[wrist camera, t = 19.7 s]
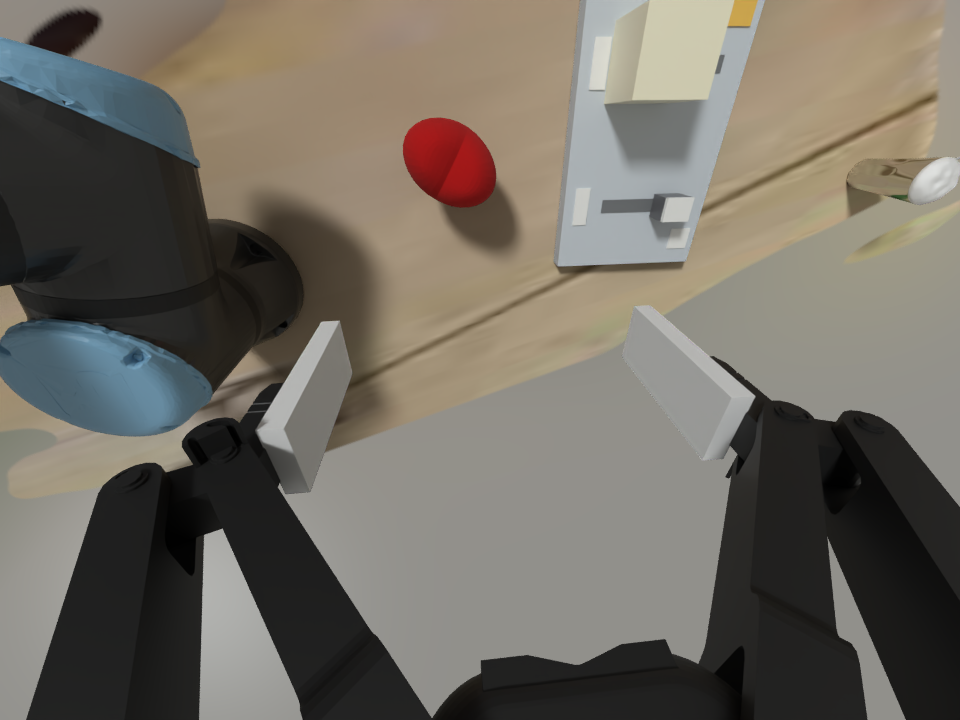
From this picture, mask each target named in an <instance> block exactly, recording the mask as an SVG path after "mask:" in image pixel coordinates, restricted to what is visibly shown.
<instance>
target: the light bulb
mask: <svg viewBox="0 0 960 720" xmlns="http://www.w3.org/2000/svg"><path fill="white" fill-rule="evenodd" d="M403 156H404V161H405V164H406V167H407V169H408V172H409V173H410V175H411V177H412V178H413V180H414V181H415V182H416V184H417V185H418V186H419V187H420V188H421V189H422V190H423V191H424V192H425V193H427V194H428V195H430V196H431V197H433V198H434V199H436V200H438V201H440V202H442V203H444V204H447V205H450V206H454V207H460V208H461V207H472V206H476V205H478V204H480V203H483V202H484V201H485V200H486V199H488V198H489V196H490V195H491V194H492V192H493V190H494V187H495V183H496V168H495V165H494V161H493V158H492V156H491V154H490V152H489V150H488V148H487V147H486V145H485V144H484V142H483V141H482V140H481V139H480V138H479V137H478V135H477V134H476V133H474V132H473V131H472V130H471V129H469V128H468V127H466V126H465V125H463V124H461V123H459V122H457V121H454V120H451V119H446V118H429V119H425V120H422V121H420V122H418V123H416V124H415V125H414V126H413V127H412V128H411V129H409V131H408V133H407V134H406V136H405V139H404V143H403Z"/></svg>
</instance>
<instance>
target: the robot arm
mask: <svg viewBox="0 0 960 720" xmlns="http://www.w3.org/2000/svg"><path fill="white" fill-rule="evenodd" d="M198 168H200V163H199V160H198V159H196V158H195V155H194V151H193V147H192V143H191V139H190V135H189V131H188V127H187V123H186V119H185V116H184V114H183V112H182V110H181V108H180V107H179V105H178V104H177V103H176V101H175V100H174V99H173V98H172V97H171V96H170V95H168V94H167V93H166V92H165V91H163V90H162V89H160V88H159V87H157V86H155V85H153V84H150V83H148V82H145V81H142V80H140V79H137V78H134V77H131V76H128V75H124V74H122V73H118V72H115V71H112V70H109V69H106V68H103V67H99V66H96V65H93V64H90V63H87V62H84V61H80V60H77V59H74V58H71V57H67V56H64V55H61V54H57V53H54V52H51V51H47V50H44V49H41V48H37V47H34V46H31V45H27V44H24V43H20V42H17V41H13V40H10V39H6V38H2V37H0V286H5V285H11V286H12V288H13V290H14V292H15V294H16V296H17V298H18V300H19V302H20V304H21V306H22V308H23V310H24V312H25V314H26V316H27V321H26V322H20V323H18V324H16V325H14V326H12V327H10V328H8V330H7V331H6V332H5V335H4V336H3V337H2V338H1V340H0V376H1V377H2V379H3V380H4V382H5V383H6V384H7V385H8V386H9V387H10V388H11V389H12V390H13V391H14V392H15V393H16V394H18V395H19V396H20V397H21V398H23V399H24V400H25V401H27V402H28V403H30V404H31V405H33V406H34V407H36V408H38V409H39V410H41V411H43V412H45V413H47V414H49V415H51V416H53V417H55V418H57V419H60V420H63V421H66V422H68V423H70V424H72V425H75V426H78V427H81V428H84V429H87V430H91V431H95V432H100V433H105V434H111V435H119V436H150V435H157V434H161V433H165V432H168V431H171V430H173V429H175V428H177V427H179V426H181V425H182V424H184V423H185V422H186V421H188V420H189V419H190V418H191V417H192V416H193V415H194V414H195V413H196V412H197V411H198V410H199V409H200V408H201V407H203V406H205V405H206V404H207V403H208V402H209V401H210V400H211V397H212V395H213V394H214V392H215V391H216V390H217V389H218V387H219V386H220V385H221V384H222V383H223V381H224V380H225V379H226V378H227V377H228V375H229V374H230V373H231V372H232V370H233V369H234V368H235V367H236V366H237V364H238V363H239V362H240V361H241V360H242V359H243V357H244V356H245V355H246V354H247V353H248V351H249V350H250V349H251V348H252V347H253V346H255V345H258V344H260V343H263V342H265V341H268V340H270V339H273V338H275V337H277V336H278V335H280V334H281V333H283V332H284V331H285V330H286V329H288V327H289V326H290V325H291V324H292V323H293V321H294V320H295V319H296V317H297V316H298V314H299V312H300V310H301V307H302V303H303V285H302V281H301V278H300V275H299V272H298V270H297V268H296V266H295V265H294V263H293V261H292V260H291V258H290V257H289V256H288V255H287V253H286V252H285V251H284V250H283V249H282V248H281V247H280V246H279V245H278V244H277V243H276V242H275V241H273V240H272V239H271V238H269V237H268V236H267V235H265V234H264V233H262V232H260V231H258V230H257V229H255V228H252V227H250V226H248V225H245V224H242V223H239V222H236V221H231V220H225V219H208V218H207V213H206V208H205V203H204V198H203V193H202V188H201V183H200V178H199V173H198ZM622 358H623V359H624V360H625V362H626V363H627V364H628V366H629V367H630V368H631V369H632V371H633V372H634V373H635V375H636V376H637V377H638V379H639V380H640V381H641V382H642V384H643V385H644V386H645V388H646V389H647V390H648V391H649V393H650V394H651V395H652V397H653V398H654V399H655V400H656V402H657V403H658V404H659V406H660V407H661V408H662V409H663V411H664V412H665V413H666V415H667V416H668V417H669V418H670V420H671V421H672V422H673V423H674V425H675V426H676V427H677V429H678V430H679V431H680V433H681V434H682V435H683V436H684V438H685V439H686V440H687V442H688V443H689V444H690V445H691V447H692V448H693V449H694V451H695V452H696V453H697V454H698V456H699V457H700V458H701V459H702V460H714V459H723V458H724V456H725V454H726V453H727V451H728V449H729V447H730V446H731V447H732V448H733V449H734V450H735V452H736V453H737V454H738V455H737V456H736V458H735V460H734V462H733V464H732V466H731V468H730V469H729V471H728V473H727V475H726V478H730V476H731V482H730V488H729V495H728V502H727V508H726V514H725V521H724V528H723V534H722V541H721V548H720V554H719V560H718V567H717V574H716V580H715V587H714V593H713V600H712V607H711V613H710V619H709V626H708V633H707V639H706V644H705V648H704V651H703V654H702V656H701V659H700V661H699V664H697V663H695V662H693V661H691V660H689V659H686V658H683V657H680V656H677V655H674V654H672V653H671V651H670V649H669V646H668V644H667V642H666V640H665V639H663V640H654V641H645V642H637V643H628V644H621V645H619V646H617V647H615V648H613V649H611V650H609V651H607V652H605V653H603V654H601V655H599V656H597V657H595V658H593V659H591V660H589V661H587V662H585V663H583V664H580V665H573V664H568V663H563V662H558V661H553V660H548V659H544V658H539V657H534V656H529V655H524V656H516V657H507V658H498V659H490V660H481V674H479V675H477V676H475V677H473V678H471V679H469V680H468V681H466V682H465V683H464V684H462V685H460V687H458V688H457V689H456V690H455V691H454V692H453V693H452V694H450V695H449V697H448V698H447V699H446V700H445V701H444V702H443V704H442V705H441V706H440V707H439V709H438V711H437V712H436V714H435V715H434V716H433V718H431V716H430V715H429V714H428V712H427V710H426V709H425V707H424V706H423V704H422V703H421V701H420V700H419V698H418V697H417V695H416V694H415V692H414V691H413V689H412V688H411V686H410V685H409V683H408V681H407V680H406V679H405V677H404V675H403V674H402V672H401V671H400V669H399V668H398V666H397V665H396V663H395V662H394V660H393V659H392V657H391V656H390V654H389V653H388V651H387V650H386V648H385V647H384V645H383V644H382V642H381V641H380V640H379V638H378V637H377V636H376V635H375V634H373V633H372V631H371V630H370V629H369V627H368V626H367V624H366V623H365V621H364V620H363V618H362V616H361V615H360V613H359V612H358V610H357V609H356V607H355V606H354V604H353V603H352V601H351V600H350V598H349V596H348V595H347V593H346V592H345V590H344V589H343V587H342V586H341V584H340V583H339V581H338V580H337V578H336V576H335V575H334V573H333V572H332V570H331V569H330V567H329V566H328V564H327V563H326V561H325V560H324V558H323V556H322V555H321V553H320V552H319V550H318V549H317V547H316V546H315V545H314V543H313V541H312V540H311V538H310V536H309V535H308V533H307V532H306V530H305V529H304V527H303V526H302V524H301V523H300V521H299V520H298V518H297V517H296V515H295V513H294V512H293V510H292V509H291V507H290V506H289V504H288V503H287V501H286V500H285V498H284V496H283V495H282V493H281V492H280V490H279V489H278V485H279V483H280V484H281V486H282V488H283V490H284V492H285V494H294V493H305V492H310V491H311V489H312V486H313V483H314V480H315V477H316V475H317V472H318V469H319V466H320V463H321V461H322V458H323V455H324V452H325V449H326V447H327V444H328V441H329V438H330V435H331V433H332V430H333V427H334V424H335V421H336V418H337V416H338V413H339V410H340V407H341V404H342V402H343V399H344V396H345V393H346V390H347V388H348V385H349V382H350V379H351V376H352V374H353V372H352V368H351V364H350V360H349V356H348V352H347V348H346V344H345V340H344V336H343V332H342V328H341V324H340V321H324V322H321V323H320V325H319V327H318V328H317V330H316V331H315V333H314V335H313V336H312V338H311V340H310V341H309V343H308V345H307V346H306V348H305V350H304V351H303V353H302V354H301V356H300V358H299V359H298V361H297V363H296V364H295V366H294V368H293V369H292V371H291V373H290V374H289V376H288V377H287V379H286V381H285V382H284V383H276V384H271V385H269V386H268V387H267V388H266V389H264V390H263V391H262V392H260V393H259V395H258V396H257V398H256V399H255V401H254V402H253V405H251V407H250V408H249V410H248V413H246V414H245V416H244V417H243V419H242V420H241V422H240V423H238V421H236V420H235V419H233V418H226V417H224V418H217V419H213V420H210V421H207V422H204V423H202V424H201V425H199V426H197V427H195V428H194V429H192V430H191V431H190V432H189V433H188V434H187V435H186V436H185V438H184V439H183V441H182V448H183V449H184V451H185V453H186V454H187V456H188V457H189V459H190V460H191V462H192V463H193V465H191V466H187V467H184V468H180V469H177V470H173V471H170V472H165V471H164V469H163V468H162V467H161V466H160V465H158V464H156V463H143V464H139V465H135V466H133V467H130V468H128V469H126V470H123V471H122V472H120V473H119V474H117V475H115V476H114V477H112V478H111V479H110V480H109V481H108V482H107V483H106V484H104V485H103V487H102V488H101V490H100V492H99V493H98V496H97V499H96V503H95V506H94V509H93V512H92V515H91V518H90V521H89V524H88V527H87V531H86V534H85V537H84V540H83V544H82V546H81V550H80V553H79V556H78V559H77V562H76V565H75V568H74V571H73V575H72V578H71V581H70V584H69V587H68V590H67V594H66V596H65V600H64V603H63V606H62V609H61V613H60V615H59V619H58V622H57V625H56V628H55V631H54V634H53V637H52V640H51V644H50V647H49V650H48V653H47V656H46V660H45V662H44V665H43V669H42V672H41V675H40V678H39V681H38V684H37V688H36V690H35V694H34V697H33V700H32V703H31V707H30V709H29V712H28V716H27V719H26V720H199V698H200V697H199V696H200V661H201V660H200V658H201V623H202V587H203V586H202V585H203V549H204V535H205V534H208V533H211V532H213V531H216V530H219V529H222V528H223V530H224V533H225V535H226V537H227V539H228V542H229V544H230V546H231V548H232V551H233V553H234V555H235V557H236V560H237V562H238V564H239V566H240V568H241V571H242V573H243V575H244V577H245V580H246V582H247V584H248V586H249V589H250V591H251V593H252V595H253V598H254V600H255V602H256V605H257V607H258V609H259V611H260V613H261V616H262V618H263V620H264V622H265V624H266V627H267V629H268V631H269V633H270V636H271V638H272V640H273V643H274V645H275V647H276V649H277V652H278V654H279V656H280V658H281V661H282V663H283V665H284V667H285V670H286V672H287V674H288V676H289V678H290V681H291V683H292V685H293V687H294V690H295V692H296V695H297V697H298V700H299V703H300V712H301V715H302V718H303V720H867V713H866V706H865V699H864V692H863V684H862V677H861V670H860V663H859V659H858V655H857V651H856V650H855V648H854V647H853V646H852V644H851V643H850V642H848V641H846V640H844V639H842V638H840V637H839V636H838V634H837V629H836V620H835V610H834V600H833V590H832V580H831V571H830V560H829V550H828V540H827V537H828V539H829V541H830V544H831V546H832V548H833V551H834V553H835V555H836V558H837V560H838V562H839V565H840V567H841V569H842V572H843V574H844V576H845V579H846V581H847V583H848V586H849V588H850V590H851V593H852V595H853V597H854V600H855V602H856V604H857V607H858V609H859V611H860V614H861V616H862V618H863V621H864V623H865V625H866V628H867V630H868V632H869V635H870V637H871V639H872V642H873V644H874V646H875V649H876V651H877V653H878V656H879V658H880V660H881V663H882V665H883V667H884V670H885V672H886V674H887V677H888V679H889V681H890V684H891V686H892V688H893V691H894V693H895V695H896V698H897V700H898V702H899V705H900V707H901V709H902V712H903V714H904V716H905V719H906V720H960V507H959V506H958V504H957V503H956V502H955V501H954V499H953V498H952V497H951V496H950V495H949V493H948V492H947V491H946V489H945V488H944V487H943V486H942V485H941V483H940V482H939V481H938V479H937V478H936V477H935V476H934V474H933V473H932V472H931V471H930V470H929V468H928V467H927V466H926V465H925V463H924V462H923V461H922V460H921V458H920V457H919V456H918V455H917V453H916V452H915V451H914V450H913V448H912V447H911V446H910V445H909V443H908V442H907V441H906V440H905V438H904V437H903V436H902V435H901V434H900V432H899V431H898V430H897V429H896V428H895V427H893V426H892V425H891V424H890V423H888V422H886V421H885V420H883V419H882V418H880V417H878V416H875V415H873V414H870V413H865V412H861V411H852V410H849V411H844V412H843V413H842V414H841V416H840V417H839V418H838V420H837V421H836V422H832V421H825V420H818V419H814V418H813V416H812V415H811V414H810V413H808V412H807V411H806V410H804V409H802V408H801V407H799V406H796V405H794V404H791V403H788V402H783V401H771V400H770V399H769V398H768V397H767V396H765V395H764V394H763V393H762V392H761V391H759V390H758V389H757V388H756V387H755V386H753V385H752V384H751V383H750V382H748V381H747V380H745V379H744V377H743V376H741V375H740V374H739V373H736V371H735V370H734V369H733V368H732V367H731V366H729V365H728V364H727V363H725V362H723V361H721V360H719V359H717V358H715V357H714V356H710V357H709V356H708V355H707V354H706V353H705V352H703V350H701V349H700V348H699V347H698V346H697V345H696V344H694V343H693V342H692V341H691V340H689V338H687V337H686V336H685V335H684V334H683V333H682V332H681V331H679V330H678V329H677V328H676V327H675V326H674V325H672V324H671V323H670V322H669V321H668V320H667V319H665V318H664V317H663V316H662V315H661V314H660V313H659V312H657V311H656V310H655V309H654V308H653V307H652V306H650V305H649V306H634V309H633V313H632V317H631V321H630V325H629V330H628V334H627V338H626V342H625V346H624V351H623V354H622ZM860 483H861V484H860Z"/></svg>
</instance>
